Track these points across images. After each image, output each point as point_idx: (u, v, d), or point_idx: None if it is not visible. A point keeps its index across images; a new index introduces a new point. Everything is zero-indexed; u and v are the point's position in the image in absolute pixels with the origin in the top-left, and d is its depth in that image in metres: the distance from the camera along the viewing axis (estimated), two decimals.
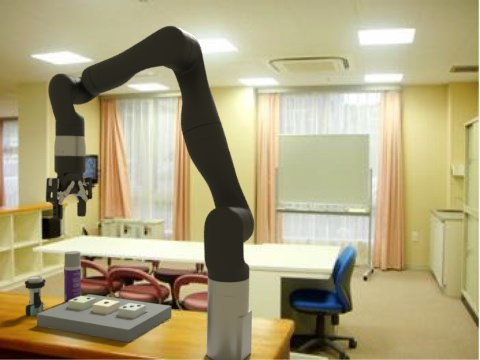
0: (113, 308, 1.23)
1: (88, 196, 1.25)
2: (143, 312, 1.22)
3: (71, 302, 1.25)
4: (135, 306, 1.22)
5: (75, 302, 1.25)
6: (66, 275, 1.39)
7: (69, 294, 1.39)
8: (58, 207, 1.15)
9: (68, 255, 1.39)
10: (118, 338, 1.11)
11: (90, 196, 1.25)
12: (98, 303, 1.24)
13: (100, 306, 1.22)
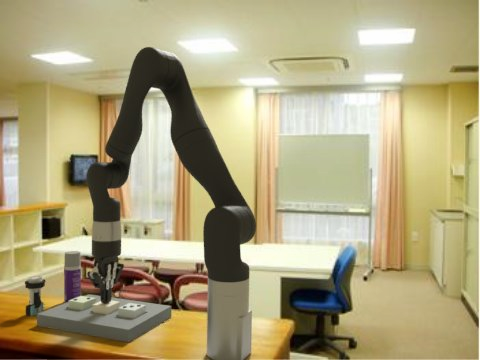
0: (113, 308, 1.23)
1: (113, 281, 1.26)
2: (143, 312, 1.22)
3: (71, 302, 1.25)
4: (135, 306, 1.22)
5: (75, 302, 1.25)
6: (66, 275, 1.39)
7: (69, 294, 1.39)
8: (105, 292, 1.23)
9: (68, 255, 1.39)
10: (118, 338, 1.11)
11: (116, 281, 1.26)
12: (98, 303, 1.24)
13: (100, 306, 1.22)
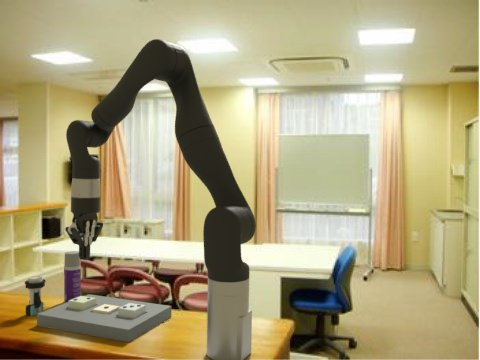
0: None
1: (92, 239, 1.28)
2: (143, 312, 1.22)
3: (71, 302, 1.25)
4: (135, 306, 1.22)
5: (75, 302, 1.25)
6: (66, 275, 1.39)
7: (69, 294, 1.39)
8: (84, 248, 1.26)
9: (68, 255, 1.39)
10: (118, 338, 1.11)
11: (94, 238, 1.29)
12: (98, 308, 1.24)
13: (100, 311, 1.22)
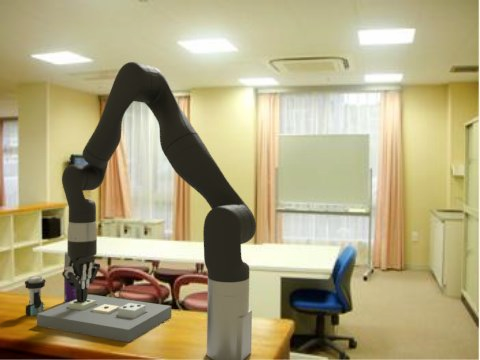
0: None
1: (89, 281, 1.29)
2: (143, 312, 1.22)
3: (71, 305, 1.26)
4: (135, 306, 1.22)
5: (75, 305, 1.25)
6: None
7: (69, 294, 1.39)
8: (81, 291, 1.26)
9: None
10: (118, 338, 1.11)
11: (91, 280, 1.29)
12: (98, 308, 1.24)
13: (100, 311, 1.22)
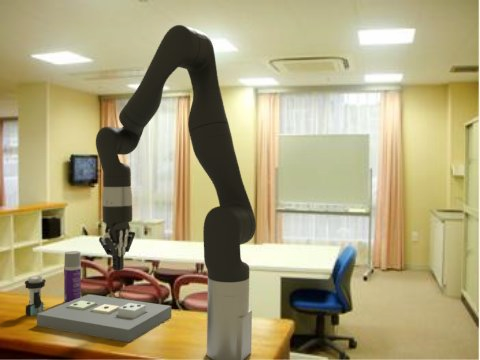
0: None
1: (125, 249, 1.24)
2: (143, 312, 1.22)
3: (71, 307, 1.26)
4: (135, 306, 1.22)
5: (75, 307, 1.25)
6: (66, 275, 1.39)
7: (69, 294, 1.39)
8: (118, 259, 1.21)
9: (68, 255, 1.39)
10: (118, 338, 1.11)
11: (127, 248, 1.24)
12: (98, 308, 1.24)
13: (100, 311, 1.22)
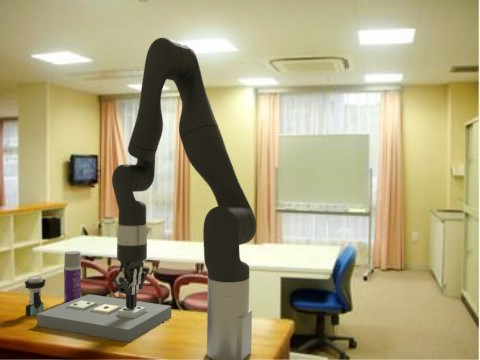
0: None
1: (139, 286, 1.23)
2: None
3: (71, 307, 1.26)
4: (135, 308, 1.22)
5: (75, 307, 1.25)
6: (66, 275, 1.39)
7: (69, 294, 1.39)
8: (131, 297, 1.20)
9: (68, 255, 1.39)
10: (118, 338, 1.11)
11: (141, 286, 1.23)
12: (98, 308, 1.24)
13: (100, 311, 1.22)
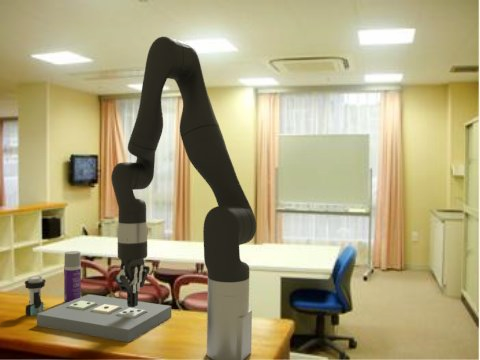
0: None
1: (140, 284, 1.23)
2: None
3: (71, 307, 1.26)
4: (135, 311, 1.22)
5: (75, 307, 1.25)
6: (66, 275, 1.39)
7: (69, 294, 1.39)
8: (132, 295, 1.20)
9: (68, 255, 1.39)
10: (118, 338, 1.11)
11: (142, 284, 1.23)
12: (98, 308, 1.24)
13: (100, 311, 1.22)
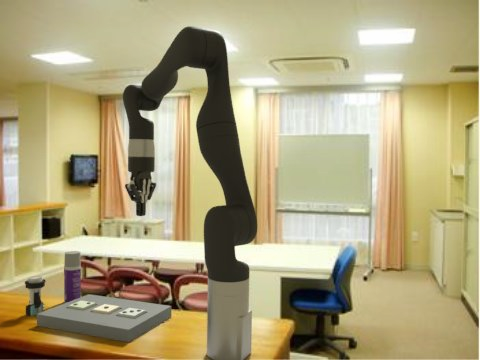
0: None
1: None
2: None
3: (71, 307, 1.26)
4: (135, 311, 1.22)
5: (75, 307, 1.25)
6: (66, 275, 1.39)
7: (69, 294, 1.39)
8: (141, 205, 1.34)
9: (68, 255, 1.39)
10: (118, 338, 1.11)
11: (149, 197, 1.37)
12: (98, 308, 1.24)
13: (100, 311, 1.22)
